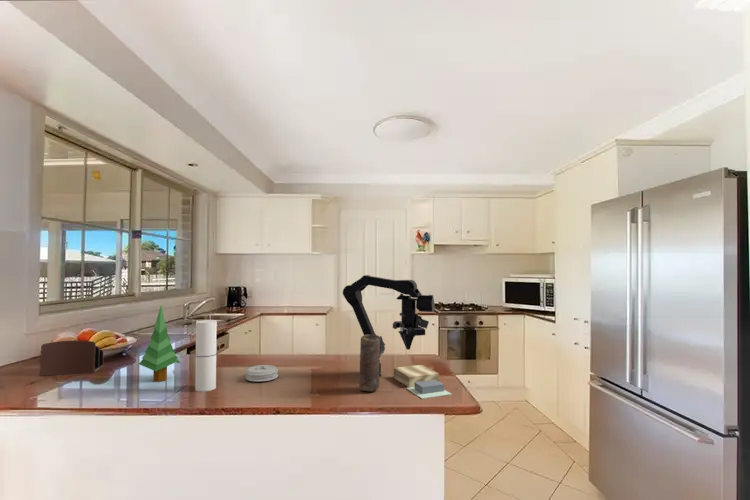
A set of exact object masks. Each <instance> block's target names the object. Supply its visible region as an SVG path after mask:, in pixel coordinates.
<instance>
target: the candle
mask: <svg viewBox="0 0 750 500" xmlns="http://www.w3.org/2000/svg"><path fill="white" fill-rule="evenodd" d="M359 350H360V352H359V379H358V380H359V381H358V383H359V386H358V388H359V390H360V391H364V392H368V393H372V392H374V391H376V390H378V389H379V388H380V376H379V360H380V358H379V356H380V336H379V335H377V334H376V335H373V334H371V335H370V334H369V335H368V334H367V335H364V334H363V335H362V336H361V337H360V349H359ZM380 357H381V356H380Z"/></svg>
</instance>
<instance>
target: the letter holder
mask: <svg viewBox="0 0 750 500" xmlns="http://www.w3.org/2000/svg"><path fill="white" fill-rule="evenodd" d="M39 364H40V367H39V368H40V369H39V376H40V377H47V376H61V375H62V376H63V375H79V374H80V375H81V374H94V373H96V372H97V371H99V370H101V369H102V368H104V350H103V349H100V347H99V346H98V345H96V342H95V341H91V340H60V341H53V342H46V343H43V344H41V347H40V363H39Z"/></svg>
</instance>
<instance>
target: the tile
mask: <svg viewBox="0 0 750 500" xmlns="http://www.w3.org/2000/svg"><path fill="white" fill-rule="evenodd" d="M415 390H417V391H418V392H420V393H421V394H428V393H435V392H442V391H444V390H445V383H442V382H441V381H440V380H439V381H437V380H429V381H421V382H415Z"/></svg>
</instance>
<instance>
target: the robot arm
mask: <svg viewBox="0 0 750 500" xmlns="http://www.w3.org/2000/svg"><path fill="white" fill-rule="evenodd" d="M368 286H372V287H378V288H384V289H389V290H394V291H396V292H398V293H399V295H398V296H397V297H396V300H398V301H399V300H401V312H399V316H400V317H401V319H400V320H399V321H396V320H395V321H394V322H393V323H392V329H395V330H397V329H399V328H400V329H399V330H398V333H399V335H400V338H401V339H402V341H403V344H404V346H405V349H406V350H408V351H410V350H411V347H412V343H413V340H414V338H415V337H417V336H418V337H419V336H426V329H428V326H429V323H430V321H429V320H427V319H423V318H422V316H421V315H419V314H418V313H416V309H417V310H418V312H419V313H421V312H423V313H434V312H435V309H436V307H435V306H436V304H435V300H434V295H433V294H429V295H428V294H427V295H425V294H422V293H421V292H420V290H419V289H418V285H417V283H416V281H415V280H413V279H390V278H385V277H380V276H373V275H372V276H371V275H369V274H367V275H366V274H365V275H362V276H361V278H359V279H357V280H356V281H355V282H353V283H351V284H349V285H345V286H344V288H343V290H342V295H343V298H344V299H345V300H346V302H347V303H348V305H350V306H351V308H352V309H353V312H354V315H355V317H356V319H357V322H358V324H359V326H360V329H361V331H362V335H363V336H364V335H367V334H368V335H369V334H370V335H371V334H373V335H377V334H376V332H375V330H374V328H373V326H372V323H371V321H370V318H369V316H368V314H367V311H366V309H365V306H364V304H363V295H362V291H364V290H365V289H366V288H367V287H368ZM379 337H380V356H379V377H381V376H382V370H381V369H382V364H381V360H380V358H381V356H382V355H383V354H384V353H385V350H386V347H385V346H386V343H385V342H384V340H383V339H384V338H383V337H382V335H380V336H379Z"/></svg>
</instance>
